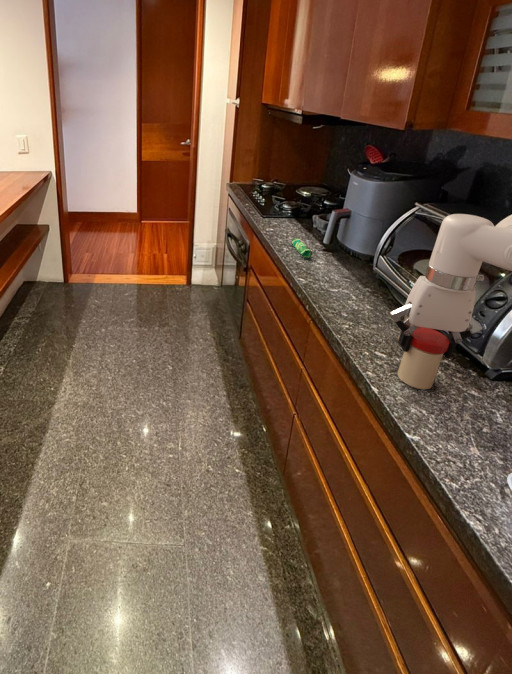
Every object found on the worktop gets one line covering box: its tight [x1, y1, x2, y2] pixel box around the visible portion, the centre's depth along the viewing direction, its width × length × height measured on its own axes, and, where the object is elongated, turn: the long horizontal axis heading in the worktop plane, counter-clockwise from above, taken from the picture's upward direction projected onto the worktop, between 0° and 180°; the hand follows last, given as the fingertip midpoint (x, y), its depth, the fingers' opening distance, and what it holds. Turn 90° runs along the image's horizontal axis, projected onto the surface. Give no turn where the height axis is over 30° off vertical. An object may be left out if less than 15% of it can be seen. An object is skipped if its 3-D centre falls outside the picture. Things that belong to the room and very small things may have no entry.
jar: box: [396, 345, 444, 390], centre depth 83 cm, size 6×6×11 cm
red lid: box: [411, 327, 450, 354], centre depth 81 cm, size 7×7×2 cm
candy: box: [290, 237, 313, 260], centre depth 148 cm, size 12×3×4 cm
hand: (423, 350), depth 82 cm, fingers closed on red lid, 6 cm apart
